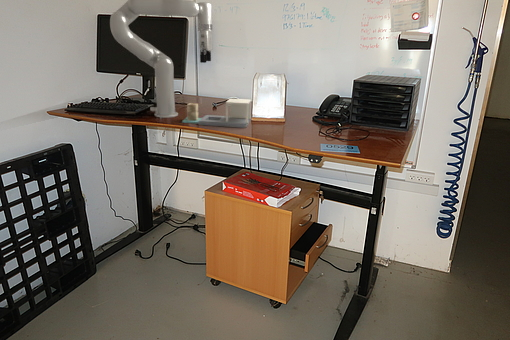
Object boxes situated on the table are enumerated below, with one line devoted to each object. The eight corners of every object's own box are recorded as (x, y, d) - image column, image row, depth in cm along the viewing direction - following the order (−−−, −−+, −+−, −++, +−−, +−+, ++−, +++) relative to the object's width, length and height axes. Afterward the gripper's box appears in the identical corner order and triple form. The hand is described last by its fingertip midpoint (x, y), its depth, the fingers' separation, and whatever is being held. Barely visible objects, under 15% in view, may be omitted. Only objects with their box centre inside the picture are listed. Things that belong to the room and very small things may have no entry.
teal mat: (182, 122, 194) (181, 121, 194) (187, 118, 203) (187, 117, 202) (199, 123, 193) (199, 122, 193) (203, 119, 202) (203, 118, 201)
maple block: (187, 120, 196) (187, 104, 193) (190, 118, 200) (189, 103, 197) (196, 120, 195) (195, 105, 193) (198, 118, 200) (198, 103, 197)
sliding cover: (225, 121, 190) (225, 102, 187) (230, 117, 200) (230, 98, 196) (247, 122, 189) (247, 103, 185) (250, 118, 198) (251, 99, 195)
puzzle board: (198, 124, 191) (198, 121, 190) (205, 118, 204) (205, 114, 203) (245, 127, 188) (245, 123, 187) (250, 121, 201) (250, 117, 200)
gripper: (207, 28, 191) (208, 63, 197) (216, 28, 207) (216, 60, 213) (193, 27, 192) (194, 62, 198) (202, 27, 208) (203, 60, 214)
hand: (205, 61), depth 206 cm, fingers open, 9 cm apart
